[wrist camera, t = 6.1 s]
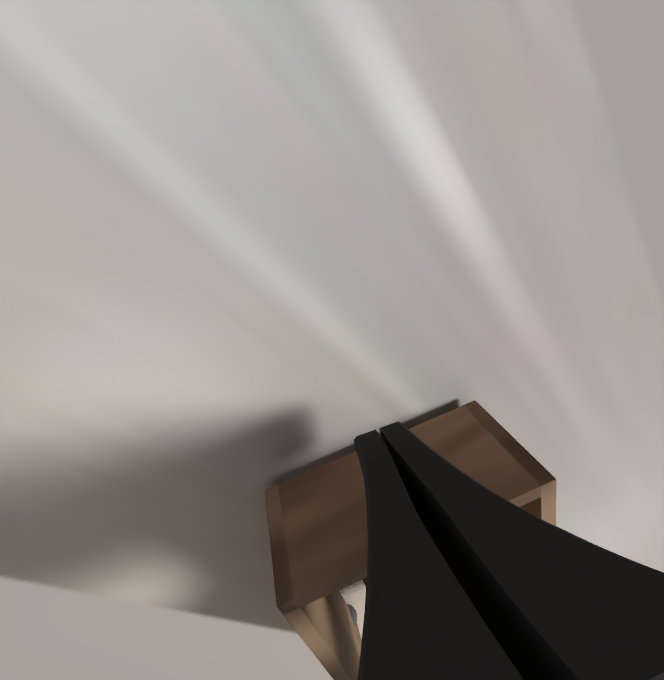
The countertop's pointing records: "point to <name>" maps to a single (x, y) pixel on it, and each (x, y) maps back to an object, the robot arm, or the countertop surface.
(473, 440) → the wooden bracket shelf
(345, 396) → the countertop surface
